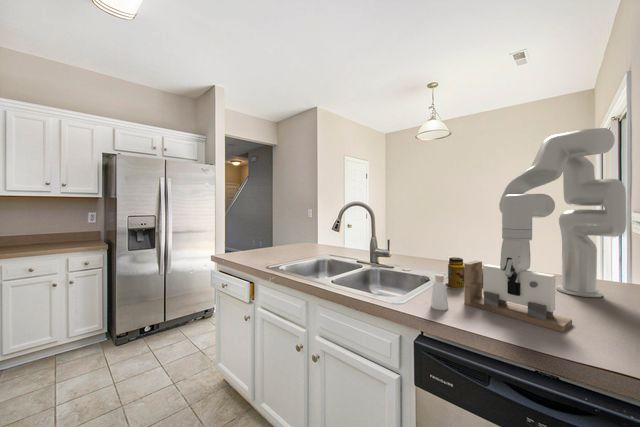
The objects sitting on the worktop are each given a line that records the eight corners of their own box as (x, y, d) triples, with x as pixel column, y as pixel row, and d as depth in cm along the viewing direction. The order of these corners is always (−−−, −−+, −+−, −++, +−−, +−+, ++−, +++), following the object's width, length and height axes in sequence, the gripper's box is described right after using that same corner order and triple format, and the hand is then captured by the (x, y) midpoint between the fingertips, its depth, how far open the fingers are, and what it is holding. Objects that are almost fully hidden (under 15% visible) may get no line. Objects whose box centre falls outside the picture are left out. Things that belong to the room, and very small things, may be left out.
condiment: (466, 290, 108) (466, 260, 107) (443, 288, 110) (443, 259, 110) (463, 284, 115) (463, 257, 114) (441, 283, 117) (441, 256, 117)
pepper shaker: (427, 305, 92) (427, 273, 91) (441, 303, 93) (441, 272, 93) (437, 311, 86) (437, 277, 86) (452, 309, 88) (452, 276, 87)
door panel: (487, 293, 92) (487, 264, 91) (555, 309, 77) (555, 275, 76) (481, 295, 89) (481, 265, 89) (550, 313, 74) (550, 277, 74)
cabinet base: (476, 298, 97) (476, 260, 97) (572, 324, 76) (572, 275, 75) (464, 303, 93) (464, 263, 92) (562, 332, 71) (563, 279, 71)
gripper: (514, 231, 90) (513, 286, 91) (490, 235, 81) (490, 295, 82) (541, 233, 84) (541, 291, 85) (519, 237, 75) (519, 302, 75)
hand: (516, 293), depth 83 cm, fingers closed on door panel, 3 cm apart
